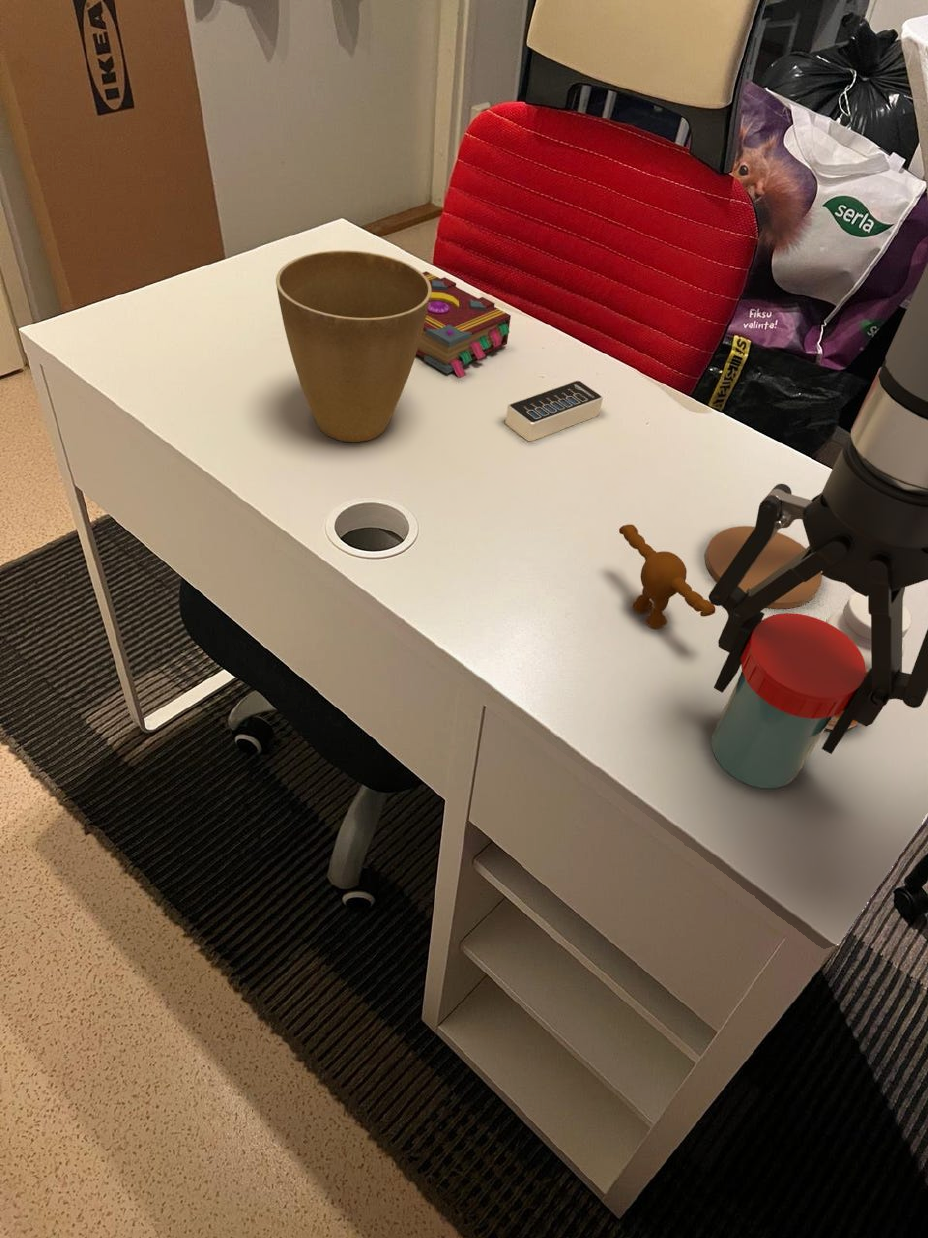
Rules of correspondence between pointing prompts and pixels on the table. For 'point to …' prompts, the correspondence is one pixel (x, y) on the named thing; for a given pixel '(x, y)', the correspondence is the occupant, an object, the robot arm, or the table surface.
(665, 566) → the toy figurine
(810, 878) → the table surface
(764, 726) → the jar
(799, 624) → the cap
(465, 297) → the decorative book
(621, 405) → the table surface
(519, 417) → the multiport hub
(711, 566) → the coaster
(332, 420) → the plant pot
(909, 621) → the pill bottle
